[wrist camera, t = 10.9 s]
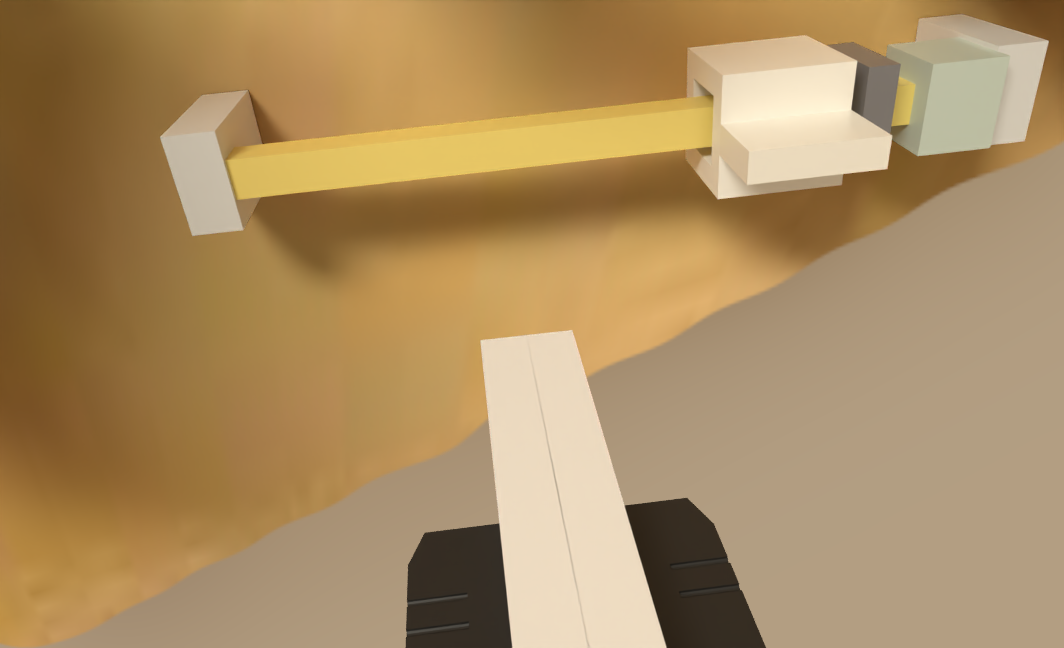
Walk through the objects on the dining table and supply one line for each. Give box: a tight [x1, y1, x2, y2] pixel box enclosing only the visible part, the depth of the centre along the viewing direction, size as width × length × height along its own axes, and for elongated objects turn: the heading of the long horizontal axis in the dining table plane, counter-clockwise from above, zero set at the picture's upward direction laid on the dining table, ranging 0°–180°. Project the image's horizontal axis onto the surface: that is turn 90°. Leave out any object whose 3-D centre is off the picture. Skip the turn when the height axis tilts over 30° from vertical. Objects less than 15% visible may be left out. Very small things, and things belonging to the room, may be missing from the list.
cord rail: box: [160, 14, 1049, 236], centre depth 33 cm, size 34×4×7 cm, turn 95°
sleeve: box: [686, 35, 892, 199], centre depth 31 cm, size 5×5×8 cm
